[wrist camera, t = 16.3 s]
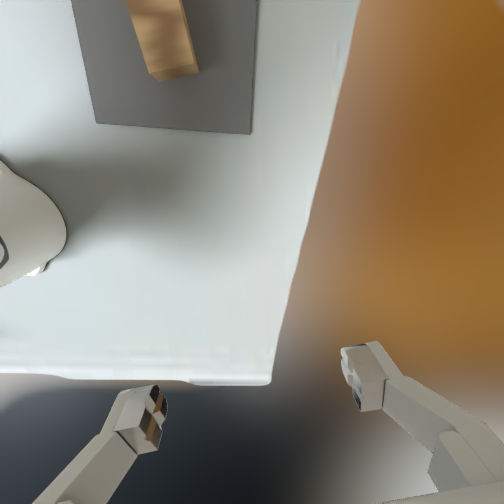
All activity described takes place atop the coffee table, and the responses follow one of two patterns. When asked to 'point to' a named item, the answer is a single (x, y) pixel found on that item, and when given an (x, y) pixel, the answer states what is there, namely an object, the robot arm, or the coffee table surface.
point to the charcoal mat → (179, 89)
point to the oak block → (163, 38)
